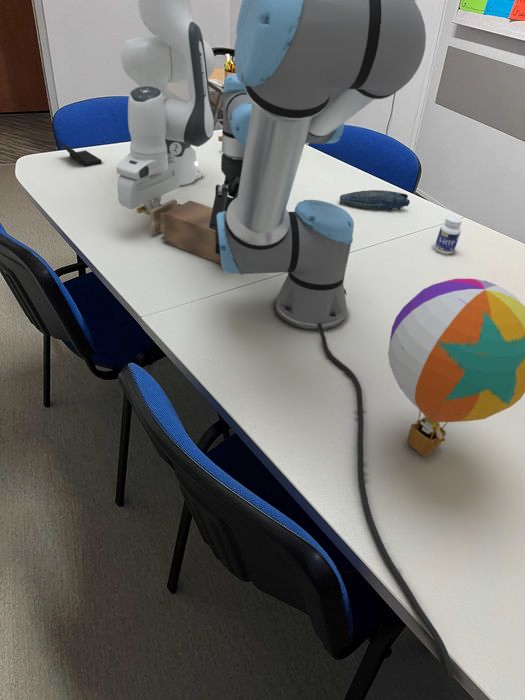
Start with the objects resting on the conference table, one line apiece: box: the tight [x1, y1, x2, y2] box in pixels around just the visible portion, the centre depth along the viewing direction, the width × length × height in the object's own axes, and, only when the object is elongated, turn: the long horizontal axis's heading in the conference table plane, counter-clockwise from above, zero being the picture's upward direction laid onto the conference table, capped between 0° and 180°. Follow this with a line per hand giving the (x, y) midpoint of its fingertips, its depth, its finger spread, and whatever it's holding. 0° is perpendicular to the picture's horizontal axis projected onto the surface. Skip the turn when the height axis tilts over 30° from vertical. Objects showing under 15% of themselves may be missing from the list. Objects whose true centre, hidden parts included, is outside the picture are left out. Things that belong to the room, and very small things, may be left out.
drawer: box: [136, 199, 183, 236], centre depth 132 cm, size 26×9×6 cm, turn 58°
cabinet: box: [164, 200, 222, 265], centre depth 129 cm, size 21×10×8 cm, turn 58°
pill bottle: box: [434, 215, 463, 255], centre depth 137 cm, size 5×5×9 cm
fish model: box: [339, 189, 411, 211], centre depth 158 cm, size 7×21×5 cm, turn 84°
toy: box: [387, 278, 525, 458], centre depth 75 cm, size 20×20×30 cm
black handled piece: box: [57, 140, 103, 167], centre depth 170 cm, size 12×7×10 cm
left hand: (152, 213), depth 137 cm, fingers closed, pressing on drawer
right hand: (234, 245), depth 127 cm, fingers closed on cabinet, 10 cm apart
